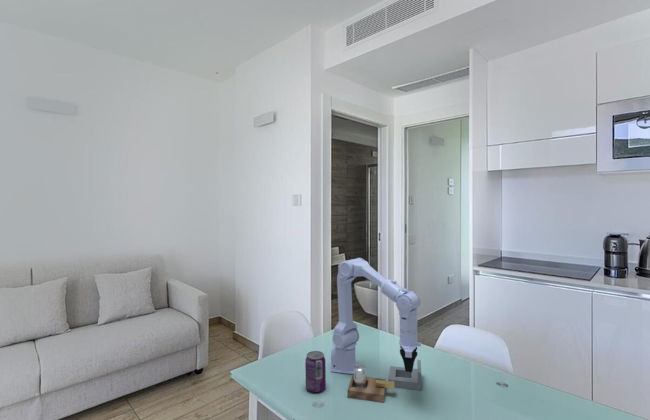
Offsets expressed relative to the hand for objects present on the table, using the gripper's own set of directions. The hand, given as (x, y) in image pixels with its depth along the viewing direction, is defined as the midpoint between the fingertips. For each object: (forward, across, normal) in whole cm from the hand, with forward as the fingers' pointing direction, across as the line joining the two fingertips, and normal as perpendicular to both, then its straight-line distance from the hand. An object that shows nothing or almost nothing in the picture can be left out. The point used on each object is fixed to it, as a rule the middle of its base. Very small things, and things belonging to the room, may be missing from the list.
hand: (408, 369), depth 111 cm
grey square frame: (+9, +10, +2) cm, 14 cm away
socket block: (+9, 0, +14) cm, 17 cm away
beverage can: (+10, -2, +32) cm, 33 cm away
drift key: (+7, 0, +8) cm, 10 cm away
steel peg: (+9, 0, +16) cm, 19 cm away
